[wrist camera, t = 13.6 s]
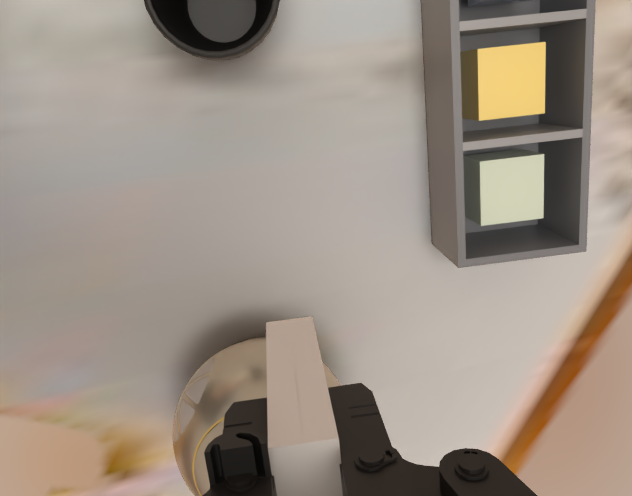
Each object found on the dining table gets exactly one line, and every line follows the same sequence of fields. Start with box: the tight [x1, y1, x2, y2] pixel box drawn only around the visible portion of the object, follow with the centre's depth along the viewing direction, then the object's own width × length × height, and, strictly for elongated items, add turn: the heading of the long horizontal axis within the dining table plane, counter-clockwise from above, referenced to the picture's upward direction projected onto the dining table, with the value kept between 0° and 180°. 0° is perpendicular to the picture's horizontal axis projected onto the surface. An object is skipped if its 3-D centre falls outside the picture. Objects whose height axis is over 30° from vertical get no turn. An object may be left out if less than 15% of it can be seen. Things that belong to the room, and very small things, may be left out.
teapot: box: [173, 337, 341, 496], centre depth 43 cm, size 18×14×16 cm
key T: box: [460, 42, 546, 121], centre depth 42 cm, size 5×5×4 cm
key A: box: [463, 149, 544, 226], centre depth 45 cm, size 5×5×4 cm
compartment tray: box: [421, 0, 595, 268], centre depth 41 cm, size 10×34×7 cm, turn 6°
